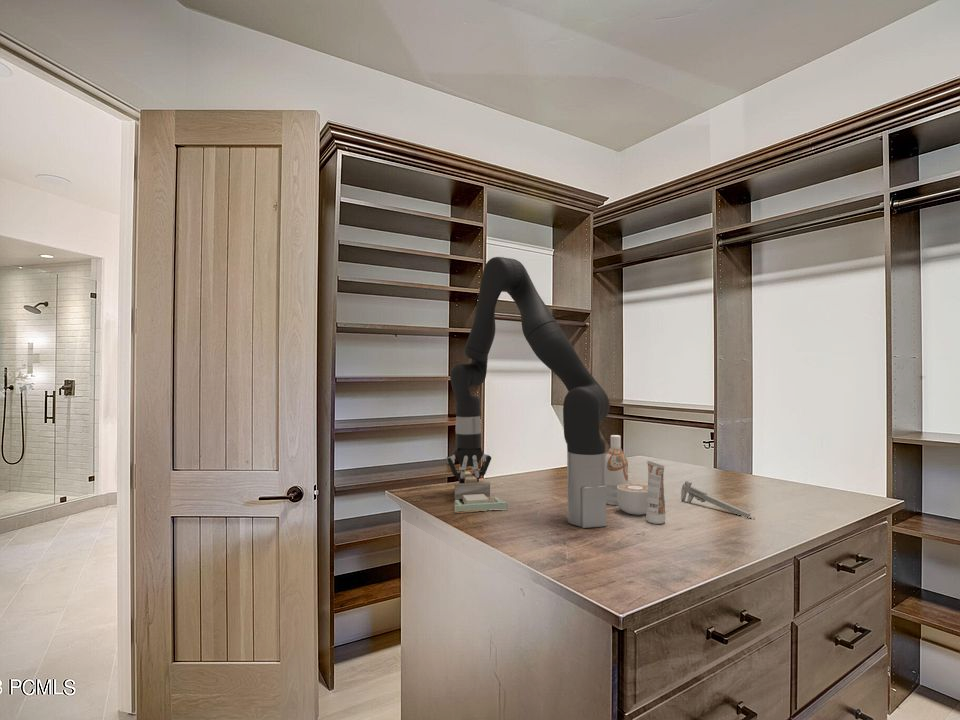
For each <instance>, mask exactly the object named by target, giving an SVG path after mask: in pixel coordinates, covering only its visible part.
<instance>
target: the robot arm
mask: <svg viewBox="0 0 960 720" xmlns="http://www.w3.org/2000/svg"><path fill="white" fill-rule="evenodd" d="M502 292H503V293H507V294H508V295H509V296H510V297H511V299H512V300H513V302H514V303H515V304H516V307H517V308H518V311H519V313H520V321H521V330H522V334H523V336H524V338H525V340H526V342H527V343H528V345H529V346H530V348H531V349H532V351H533V353H534V354H535V356H536V357H537V358H538V359H539V360H540V361H541V362H542V363H543V364H544V365H545V366H546V367H547V368H548V369H549V370H551V372H553V374H555V375H556V376H557V377H558V378H559V380H560V381H561V382H562V384H563V385H564V386H565V387H566V389H567V391H568V392H567V393H566V395H565V397H564V400H563V407H562V422H563V423H562V424H563V435H564V436H563V437H564V441H565V444H566V450H567V451H566V452H567V453H566V457H567V458H566V461H567V462H566V464H567V465H566V466H567V468H566V472H567V475H566V476H567V477H566V480H567V481H566V484H567V485H566V491H567V493H566V494H567V496H566V498H567V500H566V502H567V503H566V505H567V507H566V510H567V512H566V513H567V523H569V524H571V525H573V526H577V527H580V528H583V529H586V528H599V527H601V528H602V527H607V503H606V475H605V464H606V458H605V456H606V453H607V452H606V441H605V440H604V439H603V438H602V437H601V434H600V433H601V432H600V422H602V421H603V420H604V419H606V418H607V416H608V414H609V413H610V409H611V408H610V407H611V404H610V399H609V397H608V394H607V393H606V391H605V390H604V389H603V387H602V386H601V385H600V384H599V383H598V382H597V380H596V378H595V377H594V376H593V375H592V374H591V373H590V371H589V370H588V369H587V368H586V366H585V365H584V363H583V362H582V360H581V359H580V357H579V355H578V354H577V352H576V351H575V349H574V347H573V346H572V343H570V341H569V339H568V337H567V336H566V334H565V332H564V331H563V329H562V327H561V326H560V325H559V323H558V321H557V320H556V319H555V317H554V316H553V315H552V313H551V311H550V310H549V308H548V307H547V305H546V304H545V301H543V298H541V296H540V294H539V293H538V291H537V289H536V286H535V285H534V282H533V281H532V279H531V277H530V275H529V272H528V270H527V269H526V268H525V266H524V265H523V263H522V262H520V260H517V259H515V258H509V257H504V256H502V257H501V256H494V257H492V258H490V259H489V260H488V261H487V262H486V263H485V265H484V268H483V272H482V275H481V280H480V286H479V291H478V297H477V303H476V308H475V309H476V310H475V315H474V319H473V323H472V326H471V329H470V332H469V335H468V337H467V340H466V344H465V346H464V354H465V356H466V357H468V358H469V359H471V362H470V363H456V364H455V365H454V366H453V367H452V368H451V371H450V376H449V377H450V378H449V380H450V384H451V385H450V386H451V387H452V388H451V389H452V391H453V395H454V399H455V403H456V405H455V406H456V409H455V410H456V411H455V412H456V413H455V414H456V417H455V428H454V429H455V431H454V432H455V451H454V454H452V455H451V456H446V457H445V460H446V463H447V465H448V467H449V468H450V472H451V473H452V474H451V475H453V477H454V478H458V484H460V483H465V479H464V475H465V471H467V470H466V469H467V468H468V467H471V468H472V475H473V476H474V477H475V478H476V479H477V482H480V477H481V476H485V475H486V473H487V470H488V468H489V466H490V463H491V461H492V456H491V455H489V454H485V453H484V451H483V449H482V421H481V400H480V397H479V396H476V395H472V393H471V391H470V388H478V387H480V386H482V384H484V382H485V380H486V378H487V372H488V371H487V370H488V358H489V354H490V351H491V348H492V346H493V344H494V339H495V335H496V316H495V315H496V307H497V303H498V300H499V299H500V295H501V294H502ZM455 459H456V460H455ZM481 459H482V461H483V462H482V464H481V467H480V469H479V462H480V461H481ZM456 461H457V462H458V463H459V468H458V469H459V471H457V469H456V466H455V462H456Z"/></svg>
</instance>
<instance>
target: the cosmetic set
mask: <svg viewBox="0 0 960 720" xmlns="http://www.w3.org/2000/svg"><path fill="white" fill-rule="evenodd" d="M621 438H622V436H621V435H619V434H611V435H610V448H609V449H608V451H607V452H606V453H605V458H606V464H605V475H606V505H610V506H615V505H616V506H618V507H619V509H621V510H622V511H623V512H624V513H626V514H629V515H634V516H642V515H645V518H646V521H647V522H648V523H650V524H655V525H662V524H665V522H666V504H665V503H666V501H665V486H664V472H665V465H663V464H660V463H657V462H654V461H649V460H647V463H646V464H647V468H648V469H647V470H648V471H647V472H648V473H647V475H648V477H647V478H648V479H647V484H642V483H629V463H628V459H627V456H626V454H625V452H624V450H623V449H622V448H621V447H622V440H621Z"/></svg>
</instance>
